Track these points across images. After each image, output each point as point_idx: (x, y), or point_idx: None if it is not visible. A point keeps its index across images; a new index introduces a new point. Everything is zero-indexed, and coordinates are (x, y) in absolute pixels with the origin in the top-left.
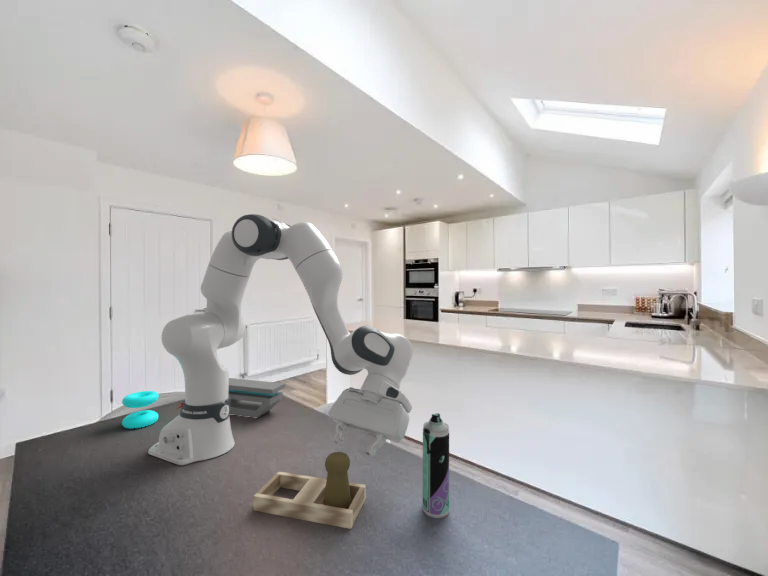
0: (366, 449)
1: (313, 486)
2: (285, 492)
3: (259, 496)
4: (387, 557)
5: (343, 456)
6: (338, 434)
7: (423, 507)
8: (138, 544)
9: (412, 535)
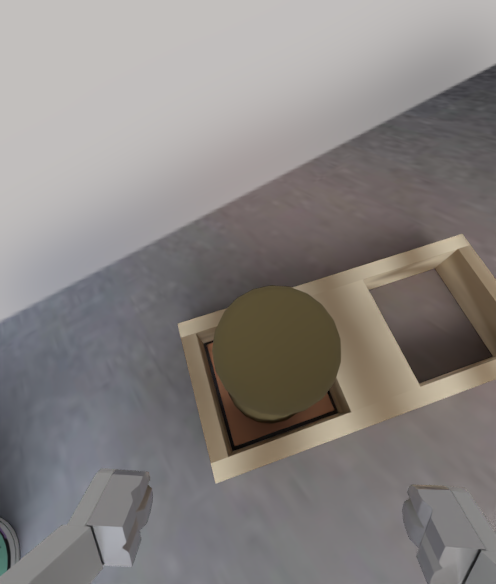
0: (136, 484)
1: (369, 359)
2: (454, 348)
3: (448, 240)
4: (72, 312)
5: (243, 349)
6: (471, 545)
7: (3, 534)
8: (491, 113)
9: (31, 404)
